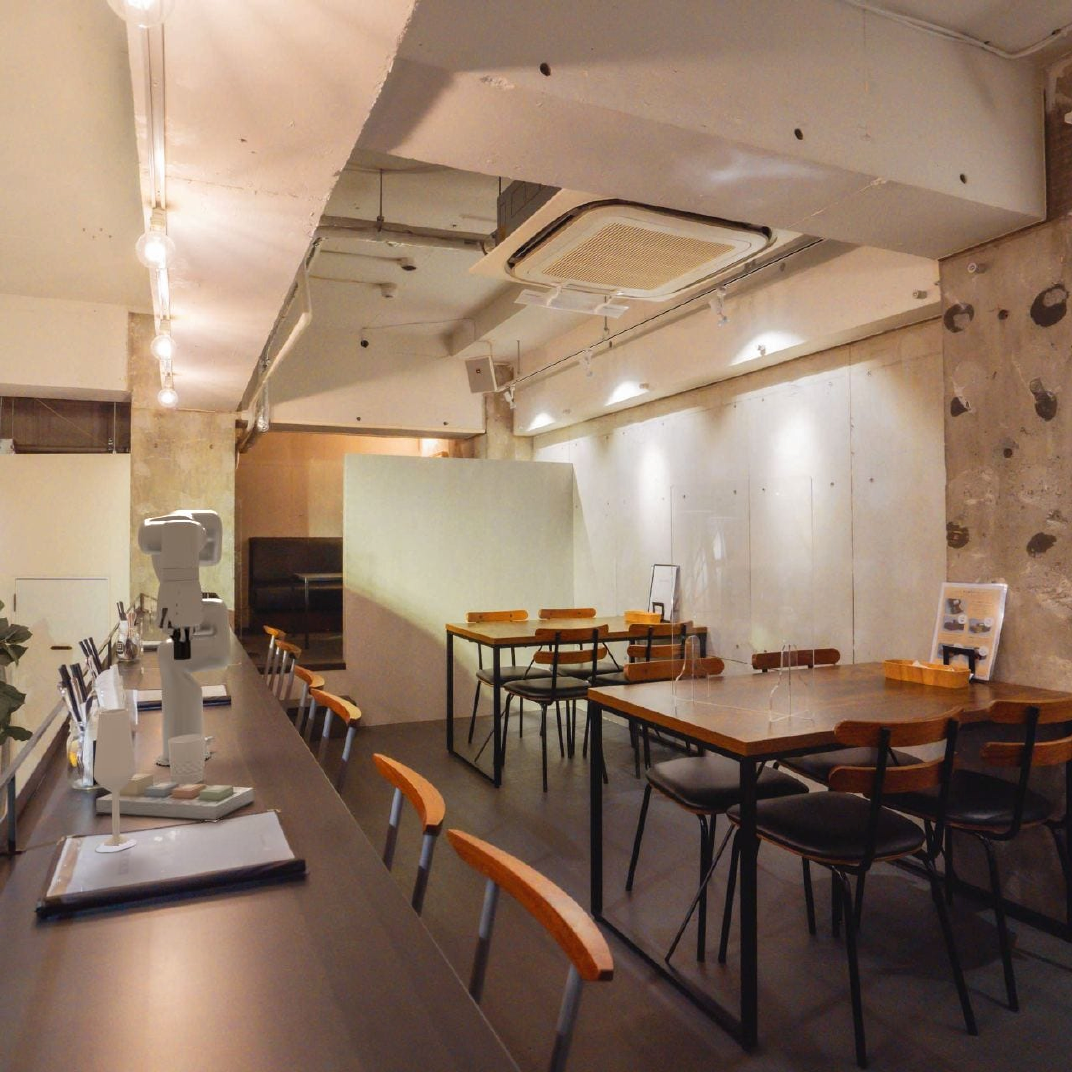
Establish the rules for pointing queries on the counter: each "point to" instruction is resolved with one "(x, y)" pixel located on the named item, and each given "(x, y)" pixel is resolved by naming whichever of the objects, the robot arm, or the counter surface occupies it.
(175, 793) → the key
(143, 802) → the keyguard pad
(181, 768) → the white cup
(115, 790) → the champagne flute
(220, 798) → the key
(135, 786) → the key
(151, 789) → the key
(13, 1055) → the counter surface
